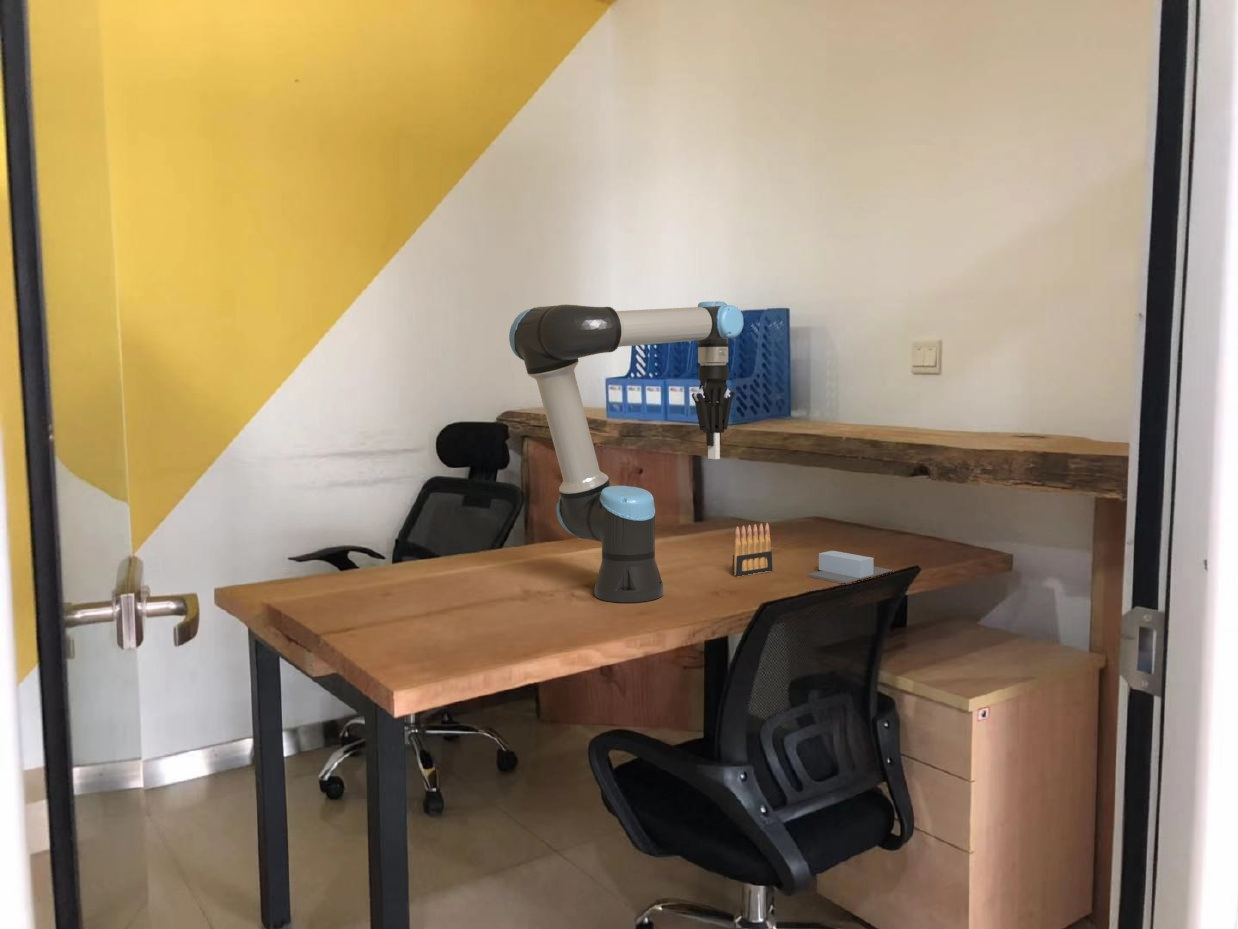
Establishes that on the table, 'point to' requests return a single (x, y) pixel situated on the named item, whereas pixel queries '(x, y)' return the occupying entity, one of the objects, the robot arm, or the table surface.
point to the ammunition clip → (752, 551)
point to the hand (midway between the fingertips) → (713, 458)
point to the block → (846, 564)
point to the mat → (844, 578)
